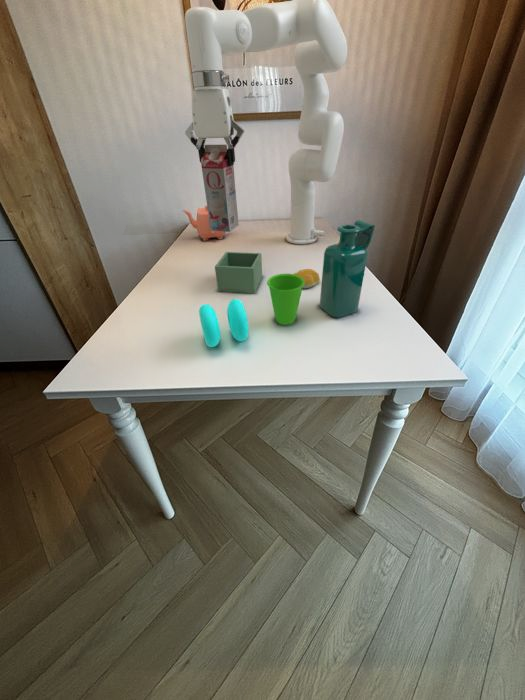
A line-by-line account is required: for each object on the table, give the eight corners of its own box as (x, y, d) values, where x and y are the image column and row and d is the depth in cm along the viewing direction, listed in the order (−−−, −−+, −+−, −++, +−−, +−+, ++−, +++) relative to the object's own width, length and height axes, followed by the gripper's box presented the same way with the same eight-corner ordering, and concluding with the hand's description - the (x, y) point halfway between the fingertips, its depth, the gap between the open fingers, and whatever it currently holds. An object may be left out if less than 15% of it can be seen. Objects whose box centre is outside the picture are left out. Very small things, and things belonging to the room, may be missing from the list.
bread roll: (323, 281, 98) (324, 269, 96) (306, 291, 93) (307, 279, 91) (302, 274, 103) (303, 262, 100) (285, 283, 98) (285, 271, 95)
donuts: (251, 348, 72) (248, 311, 66) (208, 356, 70) (201, 320, 64) (241, 325, 80) (237, 290, 74) (202, 333, 78) (196, 297, 72)
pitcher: (335, 320, 80) (346, 234, 67) (316, 306, 86) (323, 224, 73) (364, 310, 84) (380, 226, 70) (344, 297, 90) (355, 217, 76)
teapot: (186, 239, 135) (181, 208, 127) (212, 228, 145) (208, 199, 137) (212, 245, 127) (207, 212, 120) (237, 233, 138) (234, 203, 130)
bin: (262, 276, 102) (261, 253, 97) (254, 293, 93) (253, 268, 88) (228, 275, 104) (226, 251, 99) (218, 291, 96) (214, 266, 91)
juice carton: (230, 231, 94) (221, 145, 81) (210, 230, 96) (198, 146, 83) (238, 225, 99) (231, 143, 85) (219, 224, 101) (210, 143, 87)
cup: (306, 313, 83) (308, 275, 77) (298, 332, 77) (299, 292, 70) (274, 308, 86) (273, 271, 79) (263, 326, 79) (262, 287, 72)
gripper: (246, 80, 77) (251, 163, 88) (182, 85, 81) (194, 163, 92) (238, 79, 72) (244, 167, 83) (169, 83, 75) (183, 168, 86)
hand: (217, 165), depth 87 cm, fingers closed on juice carton, 7 cm apart
